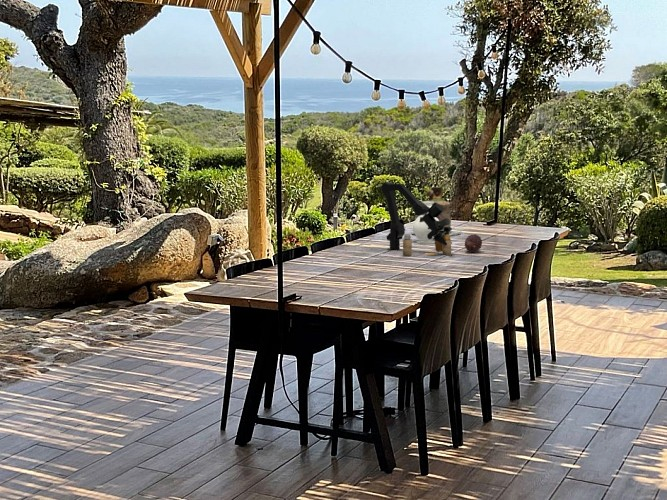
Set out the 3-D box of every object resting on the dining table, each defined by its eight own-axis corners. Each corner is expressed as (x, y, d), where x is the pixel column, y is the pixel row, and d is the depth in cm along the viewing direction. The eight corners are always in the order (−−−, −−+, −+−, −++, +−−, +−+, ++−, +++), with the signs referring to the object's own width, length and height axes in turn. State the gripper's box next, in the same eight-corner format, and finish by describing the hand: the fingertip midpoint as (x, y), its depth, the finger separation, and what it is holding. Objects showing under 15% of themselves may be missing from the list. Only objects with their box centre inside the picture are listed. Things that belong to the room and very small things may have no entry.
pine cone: (466, 249, 503) (466, 232, 501) (483, 249, 500) (484, 232, 499) (462, 253, 486) (462, 236, 484) (480, 254, 483) (480, 236, 482)
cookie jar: (432, 231, 581) (433, 183, 576) (462, 234, 564) (463, 185, 559) (409, 234, 563) (410, 185, 558) (439, 238, 546) (440, 187, 541)
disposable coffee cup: (448, 251, 493) (449, 231, 491) (432, 251, 494) (432, 230, 493) (450, 249, 502) (450, 228, 500) (433, 248, 504) (433, 228, 502)
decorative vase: (441, 240, 536) (441, 200, 532) (441, 244, 519) (442, 203, 515) (412, 240, 538) (412, 200, 534) (412, 244, 521) (412, 203, 517)
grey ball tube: (401, 255, 476) (401, 233, 474) (408, 254, 477) (409, 232, 476) (405, 256, 471) (405, 234, 469) (413, 256, 473) (413, 234, 471)
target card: (396, 256, 478) (396, 254, 478) (431, 253, 487) (431, 252, 487) (406, 259, 468) (406, 257, 468) (441, 256, 477) (441, 254, 477)
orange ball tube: (440, 255, 480) (440, 233, 478) (447, 255, 482) (448, 233, 480) (445, 256, 476) (445, 234, 474) (452, 256, 478) (452, 234, 476)
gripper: (432, 215, 470) (449, 236, 465) (449, 212, 485) (466, 233, 480) (419, 228, 476) (436, 250, 471) (436, 224, 491) (453, 245, 486)
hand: (448, 244), depth 477 cm, fingers closed on orange ball tube, 5 cm apart
